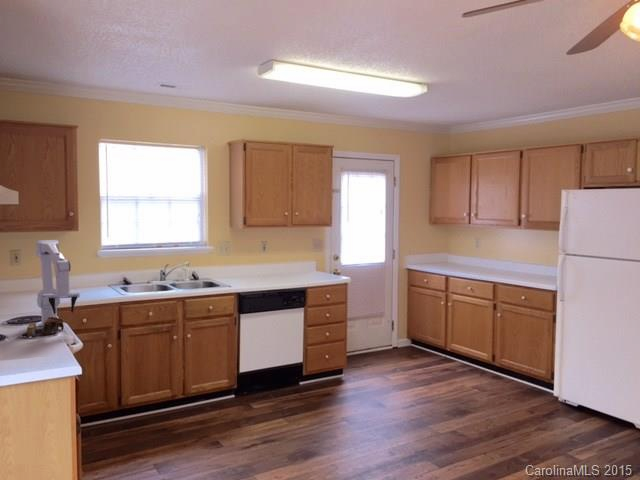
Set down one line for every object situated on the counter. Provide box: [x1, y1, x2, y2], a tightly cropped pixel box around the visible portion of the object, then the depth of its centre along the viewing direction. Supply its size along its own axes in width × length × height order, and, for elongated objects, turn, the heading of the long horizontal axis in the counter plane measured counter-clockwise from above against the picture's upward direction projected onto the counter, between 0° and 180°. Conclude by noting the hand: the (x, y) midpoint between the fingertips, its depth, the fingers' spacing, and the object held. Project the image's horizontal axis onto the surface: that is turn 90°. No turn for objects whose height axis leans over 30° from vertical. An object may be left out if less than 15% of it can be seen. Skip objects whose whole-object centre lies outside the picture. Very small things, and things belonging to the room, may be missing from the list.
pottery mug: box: [41, 317, 64, 334], centre depth 262 cm, size 12×10×8 cm
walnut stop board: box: [26, 322, 37, 337], centre depth 259 cm, size 12×2×4 cm, turn 22°
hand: (63, 312), depth 260 cm, fingers open, 7 cm apart
